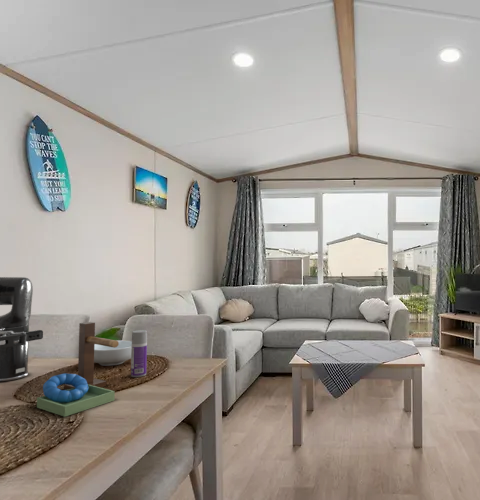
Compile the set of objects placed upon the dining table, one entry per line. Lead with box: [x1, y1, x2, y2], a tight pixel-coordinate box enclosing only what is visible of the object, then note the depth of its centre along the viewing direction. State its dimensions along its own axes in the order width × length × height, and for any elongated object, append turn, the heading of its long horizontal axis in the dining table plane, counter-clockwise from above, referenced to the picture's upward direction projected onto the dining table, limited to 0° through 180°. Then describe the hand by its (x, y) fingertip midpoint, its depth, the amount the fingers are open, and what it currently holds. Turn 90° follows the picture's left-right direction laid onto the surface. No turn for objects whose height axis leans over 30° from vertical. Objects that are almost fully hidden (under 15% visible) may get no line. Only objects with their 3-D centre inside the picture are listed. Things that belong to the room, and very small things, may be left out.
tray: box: [36, 384, 116, 418], centre depth 108 cm, size 13×13×3 cm
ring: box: [42, 372, 88, 403], centre depth 111 cm, size 3×11×10 cm
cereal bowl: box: [94, 339, 132, 367], centre depth 149 cm, size 17×17×7 cm
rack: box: [63, 321, 119, 390], centre depth 120 cm, size 18×8×20 cm, turn 64°
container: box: [130, 329, 148, 378], centre depth 135 cm, size 5×5×15 cm
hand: (32, 332), depth 99 cm, fingers open, 8 cm apart
